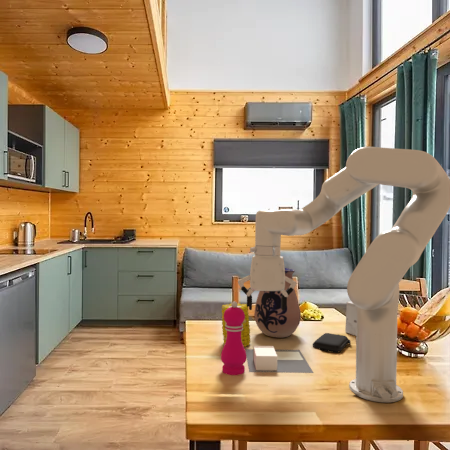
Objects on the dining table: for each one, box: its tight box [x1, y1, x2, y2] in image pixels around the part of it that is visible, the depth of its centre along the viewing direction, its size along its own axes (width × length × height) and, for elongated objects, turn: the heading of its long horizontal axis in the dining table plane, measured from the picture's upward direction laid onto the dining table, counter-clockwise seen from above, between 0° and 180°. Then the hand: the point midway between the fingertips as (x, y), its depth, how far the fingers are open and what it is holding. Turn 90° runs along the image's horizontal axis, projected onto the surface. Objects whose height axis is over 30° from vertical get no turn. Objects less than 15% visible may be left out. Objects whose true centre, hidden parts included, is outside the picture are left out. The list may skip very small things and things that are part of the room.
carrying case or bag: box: [312, 332, 351, 354], centre depth 134 cm, size 11×3×15 cm
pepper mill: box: [220, 301, 247, 376], centre depth 109 cm, size 7×7×20 cm
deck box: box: [252, 345, 277, 370], centre depth 114 cm, size 9×6×4 cm
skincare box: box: [345, 300, 358, 337], centre depth 150 cm, size 6×4×12 cm
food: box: [221, 303, 251, 348], centre depth 134 cm, size 15×12×10 cm
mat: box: [244, 348, 314, 374], centre depth 118 cm, size 20×18×1 cm
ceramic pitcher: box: [253, 267, 302, 339], centre depth 149 cm, size 18×21×25 cm
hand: (266, 309), depth 115 cm, fingers open, 9 cm apart
